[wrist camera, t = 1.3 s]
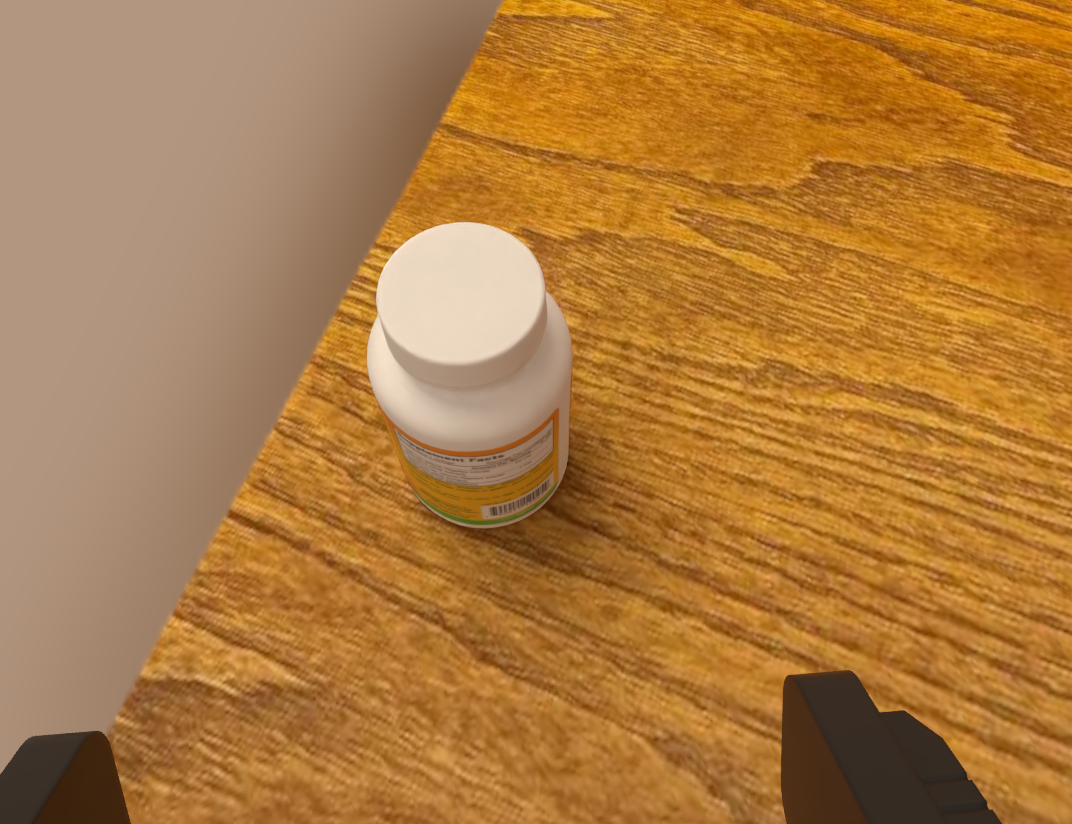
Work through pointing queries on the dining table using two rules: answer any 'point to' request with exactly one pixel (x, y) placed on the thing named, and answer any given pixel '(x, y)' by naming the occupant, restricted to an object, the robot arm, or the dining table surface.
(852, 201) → the dining table surface
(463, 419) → the supplement bottle
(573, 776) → the dining table surface
